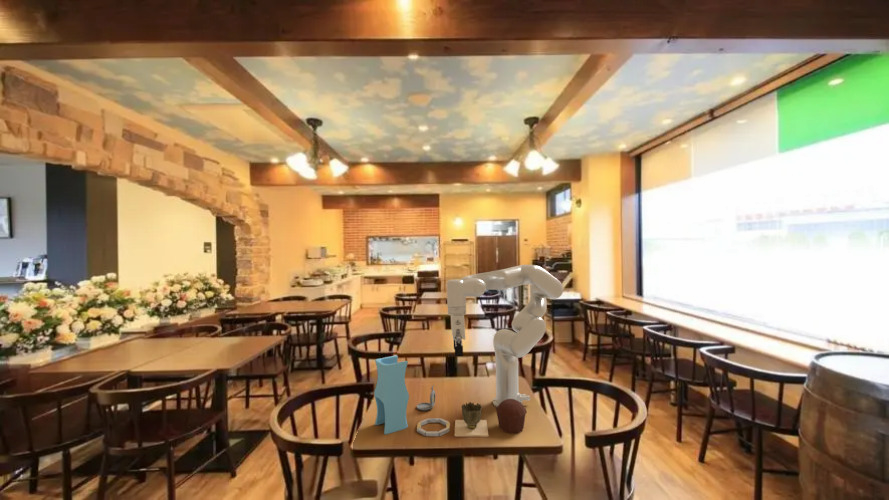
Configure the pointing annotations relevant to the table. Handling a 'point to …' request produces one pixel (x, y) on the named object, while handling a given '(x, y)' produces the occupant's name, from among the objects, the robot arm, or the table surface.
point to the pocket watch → (428, 405)
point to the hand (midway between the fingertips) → (458, 352)
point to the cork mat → (464, 431)
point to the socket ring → (433, 433)
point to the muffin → (511, 416)
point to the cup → (471, 414)
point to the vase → (391, 394)
